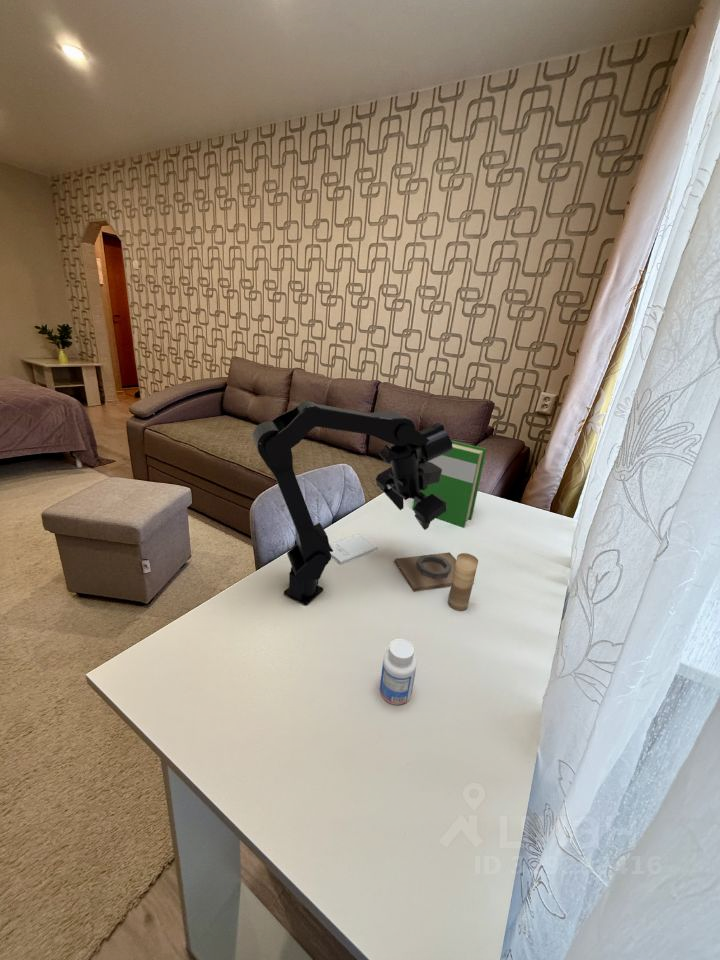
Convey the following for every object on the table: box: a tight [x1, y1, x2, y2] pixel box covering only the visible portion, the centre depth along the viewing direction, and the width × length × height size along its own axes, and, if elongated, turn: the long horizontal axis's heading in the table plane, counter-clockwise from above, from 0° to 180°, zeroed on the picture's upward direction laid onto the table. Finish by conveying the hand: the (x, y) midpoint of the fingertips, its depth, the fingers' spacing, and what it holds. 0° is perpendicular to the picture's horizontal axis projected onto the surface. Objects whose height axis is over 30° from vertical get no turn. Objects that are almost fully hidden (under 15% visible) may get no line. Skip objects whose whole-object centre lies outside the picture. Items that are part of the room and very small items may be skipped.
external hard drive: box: [329, 533, 378, 565], centre depth 105 cm, size 2×8×12 cm
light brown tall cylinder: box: [447, 552, 479, 612], centre depth 86 cm, size 4×4×12 cm
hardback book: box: [411, 439, 488, 529], centre depth 124 cm, size 18×7×24 cm, turn 57°
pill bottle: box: [379, 638, 418, 705], centre depth 64 cm, size 6×5×10 cm
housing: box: [393, 551, 475, 593], centre depth 98 cm, size 16×12×2 cm
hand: (413, 518), depth 94 cm, fingers open, 9 cm apart
